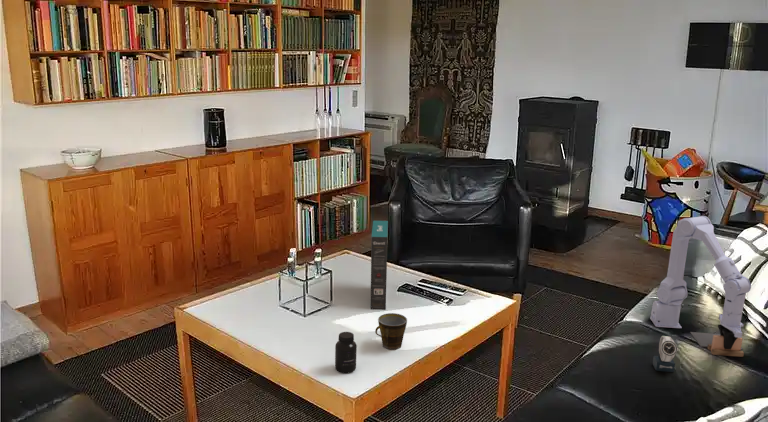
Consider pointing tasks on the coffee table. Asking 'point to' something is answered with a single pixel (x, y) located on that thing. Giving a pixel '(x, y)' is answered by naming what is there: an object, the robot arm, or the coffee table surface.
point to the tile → (719, 343)
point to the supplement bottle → (345, 353)
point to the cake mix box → (379, 265)
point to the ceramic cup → (392, 330)
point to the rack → (725, 352)
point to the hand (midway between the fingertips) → (726, 347)
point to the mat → (704, 338)
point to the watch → (665, 355)
